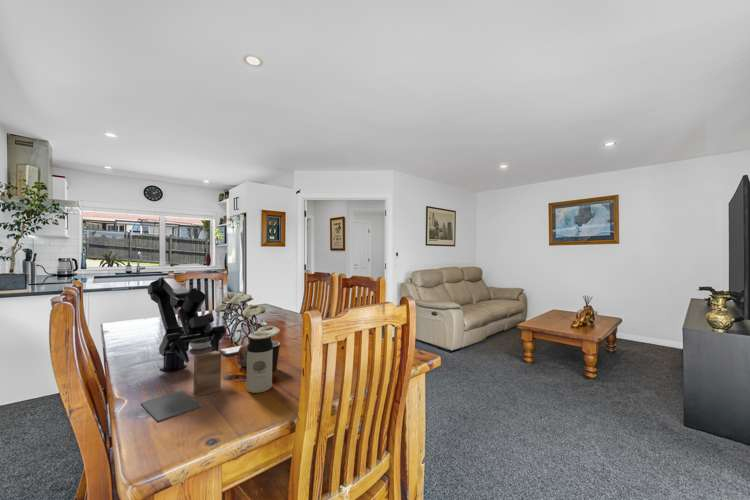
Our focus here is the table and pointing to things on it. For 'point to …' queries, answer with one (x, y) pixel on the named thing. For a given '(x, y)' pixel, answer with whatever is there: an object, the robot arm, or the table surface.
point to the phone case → (230, 351)
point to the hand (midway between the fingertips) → (203, 358)
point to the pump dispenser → (202, 341)
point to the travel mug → (259, 362)
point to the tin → (242, 355)
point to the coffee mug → (275, 355)
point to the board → (207, 373)
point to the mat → (170, 405)
